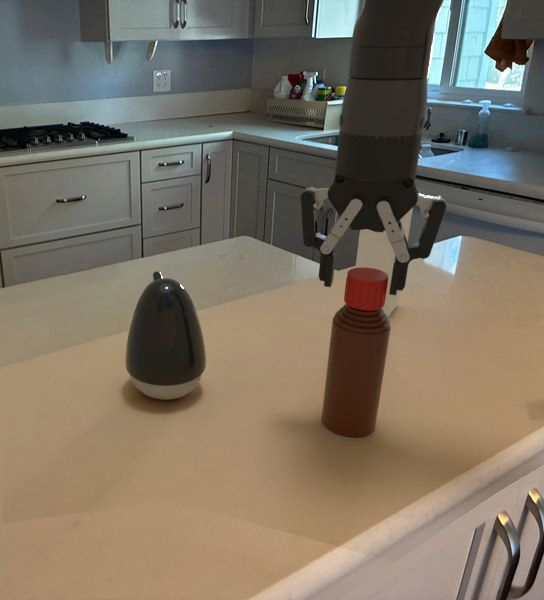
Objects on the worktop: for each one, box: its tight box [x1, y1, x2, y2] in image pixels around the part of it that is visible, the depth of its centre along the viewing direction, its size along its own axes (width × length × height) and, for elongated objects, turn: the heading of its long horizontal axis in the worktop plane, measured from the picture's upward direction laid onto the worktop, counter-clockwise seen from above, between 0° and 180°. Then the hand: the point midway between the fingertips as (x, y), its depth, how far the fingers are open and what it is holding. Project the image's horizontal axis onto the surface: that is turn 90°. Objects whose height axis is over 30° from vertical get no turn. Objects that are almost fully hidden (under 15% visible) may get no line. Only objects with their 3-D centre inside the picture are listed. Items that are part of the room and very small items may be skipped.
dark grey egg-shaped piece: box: [124, 270, 207, 401], centre depth 76 cm, size 10×10×15 cm
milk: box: [354, 207, 414, 318], centre depth 96 cm, size 6×6×22 cm
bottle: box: [321, 303, 392, 438], centre depth 68 cm, size 6×6×18 cm
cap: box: [343, 267, 388, 311], centre depth 65 cm, size 4×4×3 cm
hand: (359, 287), depth 66 cm, fingers open, 6 cm apart
